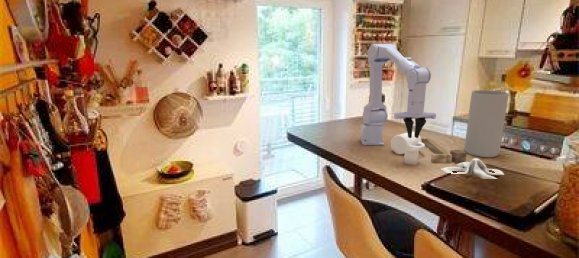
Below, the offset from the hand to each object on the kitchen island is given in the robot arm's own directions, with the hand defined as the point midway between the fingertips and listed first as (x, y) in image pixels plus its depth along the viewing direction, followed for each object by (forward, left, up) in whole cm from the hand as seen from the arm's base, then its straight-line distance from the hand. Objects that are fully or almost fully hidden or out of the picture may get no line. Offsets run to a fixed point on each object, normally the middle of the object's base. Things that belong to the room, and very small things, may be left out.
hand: (412, 137), depth 123 cm
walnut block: (+18, +1, -10) cm, 21 cm away
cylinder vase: (+32, +11, -10) cm, 35 cm away
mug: (+3, +11, -10) cm, 15 cm away
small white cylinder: (0, 0, -10) cm, 10 cm away
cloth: (+19, -12, -11) cm, 25 cm away
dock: (+11, +11, -10) cm, 19 cm away
